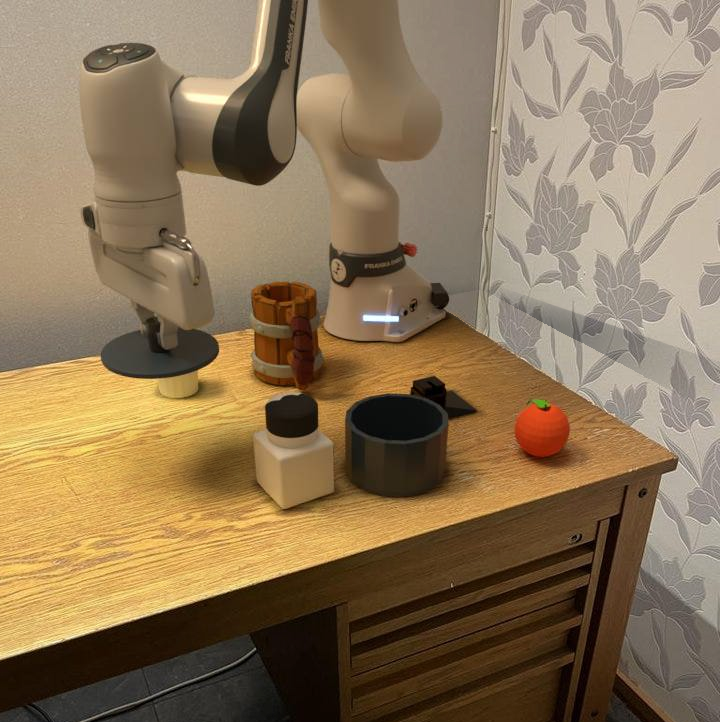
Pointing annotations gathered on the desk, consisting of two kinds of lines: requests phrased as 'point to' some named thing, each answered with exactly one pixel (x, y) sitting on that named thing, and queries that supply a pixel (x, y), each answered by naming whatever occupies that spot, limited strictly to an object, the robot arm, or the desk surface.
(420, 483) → the enamel pot
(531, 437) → the clementine
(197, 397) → the desk surface
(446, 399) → the black wedge
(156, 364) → the pot lid
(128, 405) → the desk surface
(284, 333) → the mug
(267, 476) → the medicine bottle
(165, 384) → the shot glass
